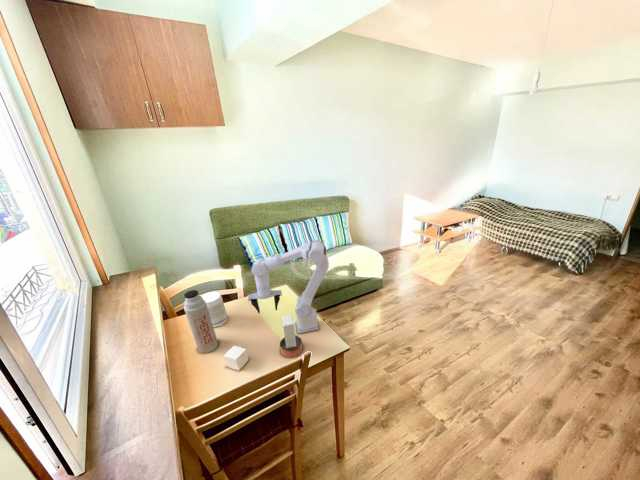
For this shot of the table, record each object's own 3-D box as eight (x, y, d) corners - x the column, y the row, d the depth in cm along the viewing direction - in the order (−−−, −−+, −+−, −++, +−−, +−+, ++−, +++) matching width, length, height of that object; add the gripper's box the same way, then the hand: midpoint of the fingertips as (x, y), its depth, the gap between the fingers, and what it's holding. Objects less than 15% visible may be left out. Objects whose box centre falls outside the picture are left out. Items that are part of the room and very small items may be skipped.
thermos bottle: (218, 348, 121) (202, 295, 108) (198, 355, 117) (179, 301, 104) (217, 337, 127) (201, 285, 114) (197, 343, 124) (179, 290, 111)
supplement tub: (231, 316, 140) (225, 292, 133) (220, 328, 132) (213, 303, 125) (214, 314, 142) (207, 290, 135) (202, 326, 134) (194, 301, 127)
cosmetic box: (296, 346, 116) (293, 324, 110) (286, 348, 115) (283, 326, 109) (294, 336, 121) (292, 315, 116) (285, 338, 120) (281, 316, 115)
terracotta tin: (300, 340, 125) (300, 333, 123) (304, 354, 117) (303, 347, 115) (280, 344, 123) (279, 337, 121) (281, 359, 115) (280, 352, 113)
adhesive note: (238, 370, 110) (235, 359, 107) (226, 366, 112) (223, 355, 109) (248, 359, 115) (246, 348, 112) (236, 355, 117) (234, 345, 114)
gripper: (279, 278, 127) (282, 302, 133) (246, 283, 123) (251, 308, 129) (280, 286, 121) (284, 311, 127) (245, 291, 117) (251, 317, 123)
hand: (267, 310), depth 128 cm, fingers open, 7 cm apart
